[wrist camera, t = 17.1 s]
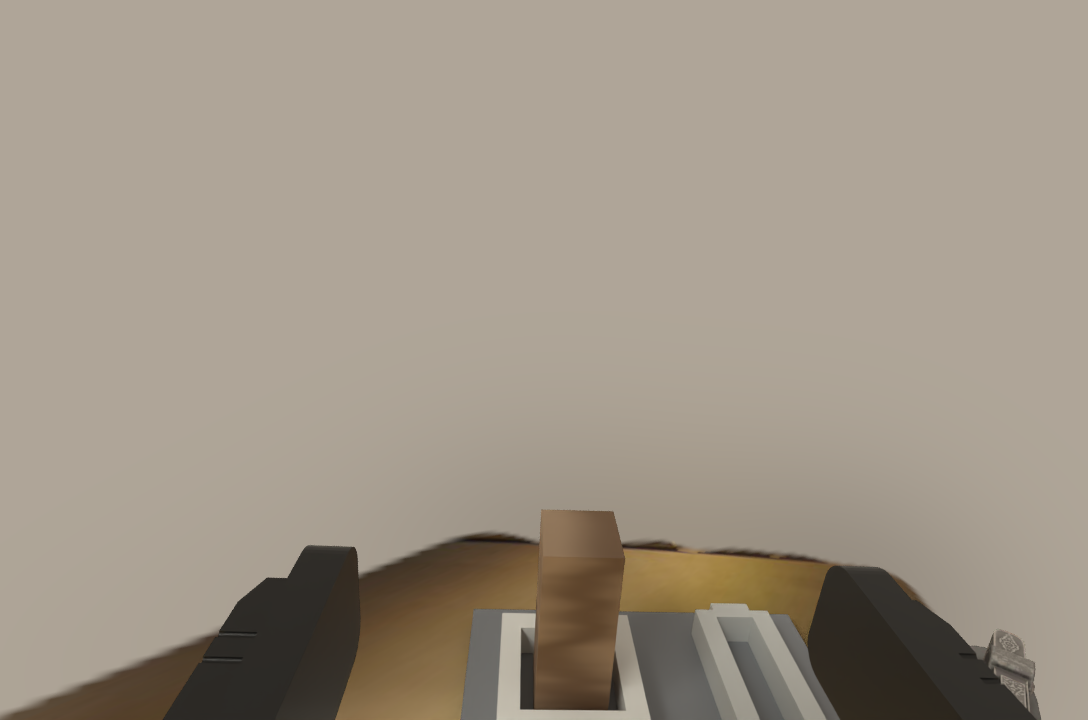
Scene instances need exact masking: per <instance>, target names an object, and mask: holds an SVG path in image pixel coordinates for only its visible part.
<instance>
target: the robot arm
mask: <svg viewBox="0 0 1088 720" xmlns="http://www.w3.org/2000/svg"><path fill="white" fill-rule="evenodd" d="M359 635H360V599H359V578H358V558H357V551H356V549H355V547H342V546H341V547H340V546H314V545H309V546H306V547H305V548H304V550H303V551H302V553H301V555H300V556H299V558H298V560H297V562H296V564H295V565H294V567H293V569H292V571H291V573H290V574H289V576H288V578H266V579H265V580H264V581H263V582H261V583H260V584H259V585H258V586H256V588H254V589H253V590H252V591H250V592H249V593H248V594H247V595H246V596H244V597H243V598H242V599H241V600H240V601H238V602H237V604H236V606H235V607H234V609H233V610H232V612H231V614H230V615H229V617H228V618H227V620H226V621H225V623H224V624H223V626H222V628H221V629H220V631H219V636H218V637H215V639H214V640H213V642H212V643H211V645H210V646H209V648H208V650H207V651H206V653H205V654H204V656H203V661H202V663H199V664H198V665H197V667H196V668H195V670H194V671H193V673H192V675H191V676H190V678H189V679H188V681H187V682H186V684H185V686H184V687H183V689H182V690H181V692H180V693H179V695H178V697H177V698H176V700H175V701H174V703H173V704H172V706H171V708H170V709H169V711H168V712H167V714H166V715H165V717H164V719H163V720H335V718H336V715H337V712H338V709H339V706H340V703H341V700H342V697H343V694H344V691H345V688H346V685H347V682H348V679H349V676H350V673H351V670H352V667H353V664H354V660H355V657H356V652H357V648H358V642H359ZM808 653H809V659H810V663H811V666H812V669H813V671H814V674H815V676H816V678H817V679H818V681H819V683H820V685H821V687H822V688H823V690H824V692H825V694H826V695H827V697H828V699H829V701H830V703H831V704H832V706H833V708H834V710H835V711H836V713H837V715H838V717H839V719H840V720H1037V719H1036V718H1035V717H1034V716H1033V715H1032V714H1031V713H1030V712H1029V711H1028V710H1027V709H1026V707H1025V706H1024V705H1023V704H1022V703H1021V702H1020V701H1019V700H1018V699H1017V698H1016V696H1015V695H1014V694H1013V693H1012V692H1011V691H1010V690H1009V689H1008V688H1007V687H1006V685H1003V684H1000V683H999V678H998V677H997V676H996V674H995V673H994V672H993V671H992V670H991V669H990V668H989V667H988V666H987V665H986V664H985V662H984V661H983V660H981V659H977V656H976V653H975V651H974V650H973V649H972V648H971V647H970V646H969V645H968V644H967V643H966V642H965V640H963V638H962V637H961V636H960V635H959V634H958V633H957V632H956V631H955V630H954V628H953V627H952V626H951V625H950V624H948V623H947V622H946V621H944V620H943V619H941V618H940V617H939V616H937V615H936V614H935V613H933V612H932V611H930V610H929V609H928V608H926V607H925V606H923V605H922V604H921V603H919V602H918V601H917V600H911V599H910V598H909V596H908V595H907V594H906V593H905V592H904V591H903V590H902V588H901V587H900V586H899V585H898V584H897V583H896V582H895V580H894V579H893V578H892V577H891V576H890V575H889V574H888V573H887V572H886V571H885V570H883V569H881V568H878V567H858V566H833V567H831V568H830V569H829V570H828V572H827V574H826V576H825V580H824V583H823V587H822V590H821V593H820V597H819V600H818V604H817V607H816V610H815V614H814V617H813V621H812V624H811V627H810V631H809V635H808Z"/></svg>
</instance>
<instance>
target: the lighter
mask: <svg viewBox="0 0 1088 720" xmlns="http://www.w3.org/2000/svg"><path fill="white" fill-rule="evenodd" d="M970 647H971V648H972V649H973V650H974V651H975V653H976V656H977V659H981V660H983V661H984V662H985V664H986V665H987V666H988V667H989V668H990V669H991V670H992V671H993V672H994V673H995V674H996V676H997V677H998V678H999V683H1000V684H1003V685H1006V687H1007V688H1008V689H1009V690H1010V691H1011V692H1012V693H1013V694H1014V695H1015V696H1016V698H1017V699H1018V700H1019V701H1020V702H1021V703H1022V704H1023V705H1024V706H1025V707H1026V709H1027V710H1028V711H1029V712H1030V713H1031V714H1032V715H1033V716H1034V717H1035V718H1036V719H1037V720H1041V716H1040V712H1039V707H1038V702H1037V699H1036V696H1035V694H1034V688H1035V686H1034V683H1033V681H1034V676H1035V663H1034V662H1033V661H1031V660H1028V659H1026V654H1025V644H1024V641H1023V640H1022V639H1021V638H1019V637H1018V636H1016V635H1014V634H1012V633H1009V632H1007V631H1004V630H1001V629H996V630H994V633H993V635H992V638H991V641H990V643H989V646H988V648H985V647H979V646H970Z"/></svg>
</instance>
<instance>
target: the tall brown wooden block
mask: <svg viewBox="0 0 1088 720" xmlns="http://www.w3.org/2000/svg"><path fill="white" fill-rule="evenodd" d="M540 528H541V529H540V545H539V564H538V582H537V600H536V619H535V637H534V655H533V710H605V711H608V706H609V697H610V688H611V679H612V670H613V661H614V652H615V643H616V634H617V625H618V616H619V608H620V599H621V590H622V581H623V572H624V563H625V556H624V552H623V548H622V544H621V540H620V536H619V532H618V528H617V524H616V521H615V516H614V512H611V511H575V510H572V511H571V510H541V527H540Z"/></svg>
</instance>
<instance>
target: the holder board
mask: <svg viewBox="0 0 1088 720" xmlns="http://www.w3.org/2000/svg"><path fill="white" fill-rule="evenodd" d="M535 619H536V610H507V609H474V612H473V621H472V629H471V637H470V645H469V654H468V662H467V670H466V679H465V687H464V695H463V704H462V712H461V720H840V719H839V717H838V715H837V713H836V711H835V710H834V708H833V706H832V704H831V703H830V701H829V699H828V697H827V695H826V694H825V692H824V690H823V688H822V687H821V685H820V683H819V681H818V679H817V678H816V676H815V674H814V671H813V669H812V666H811V663H810V659H809V653H808V648H807V646H806V645H805V643H804V641H803V640H802V638H801V636H800V635H799V633H798V631H797V629H796V628H795V626H794V624H793V623H792V621H791V619H790V617H789V616H788V615H785V614H769V613H768V611H749V609H748V607H747V605H746V604H725V603H711V604H710V610H695V613H674V612H619V616H618V625H617V634H616V643H615V652H614V661H613V670H612V679H611V688H610V697H609V706H608V711H605V710H533V655H534V637H535Z"/></svg>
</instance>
